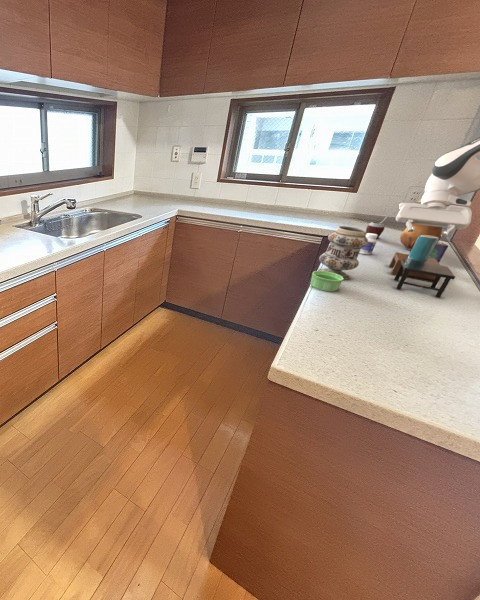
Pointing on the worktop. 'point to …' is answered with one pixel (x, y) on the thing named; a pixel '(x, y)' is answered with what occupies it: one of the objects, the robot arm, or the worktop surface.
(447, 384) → the worktop surface
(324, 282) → the ramekin
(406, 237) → the butternut squash
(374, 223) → the mate gourd
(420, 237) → the cup
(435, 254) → the flask
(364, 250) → the pill bottle
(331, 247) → the apothecary jar
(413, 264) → the dark brown wooden table
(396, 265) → the brown display stand
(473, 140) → the robot arm
